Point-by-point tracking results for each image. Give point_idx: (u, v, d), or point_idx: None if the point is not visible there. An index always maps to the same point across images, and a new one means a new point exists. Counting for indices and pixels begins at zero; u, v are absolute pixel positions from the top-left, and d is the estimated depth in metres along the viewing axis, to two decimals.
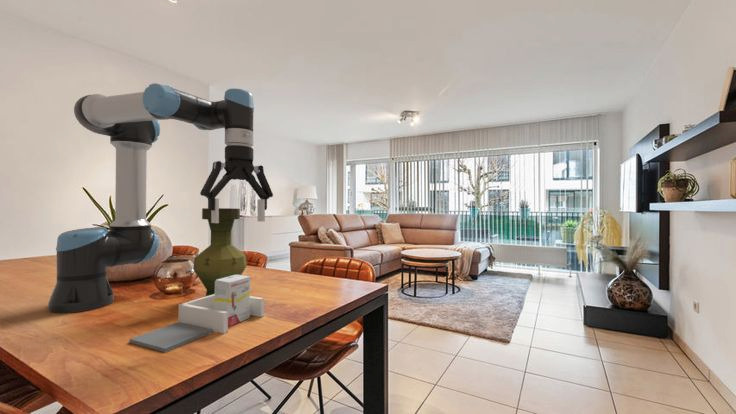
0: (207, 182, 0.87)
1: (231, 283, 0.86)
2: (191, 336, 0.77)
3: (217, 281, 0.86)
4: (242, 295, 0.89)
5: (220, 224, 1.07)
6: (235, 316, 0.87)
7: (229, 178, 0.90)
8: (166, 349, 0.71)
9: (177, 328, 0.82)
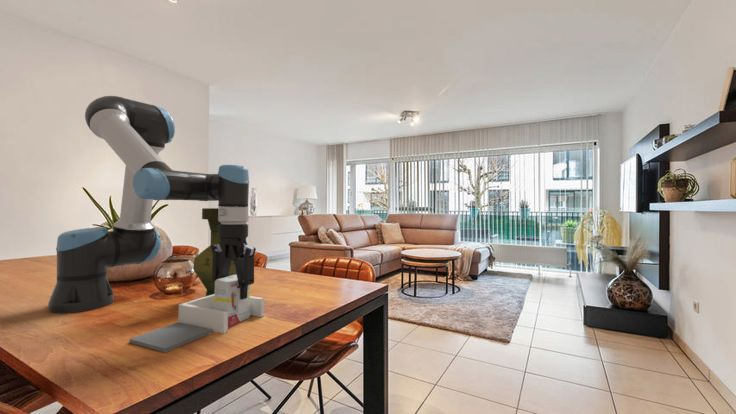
0: None
1: (231, 283, 0.86)
2: (191, 336, 0.77)
3: (217, 281, 0.86)
4: None
5: None
6: (235, 316, 0.87)
7: (222, 260, 0.89)
8: (166, 349, 0.71)
9: (177, 328, 0.82)
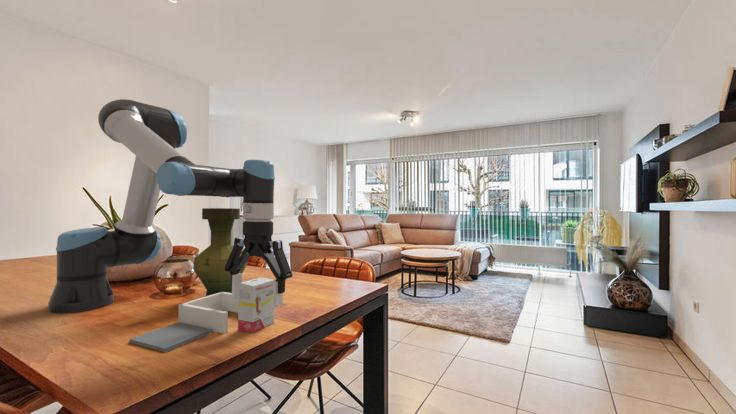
0: None
1: (255, 287, 0.83)
2: (191, 336, 0.77)
3: (241, 284, 0.83)
4: (266, 299, 0.86)
5: (220, 224, 1.07)
6: (260, 321, 0.84)
7: (242, 255, 0.86)
8: (166, 349, 0.71)
9: (177, 328, 0.82)
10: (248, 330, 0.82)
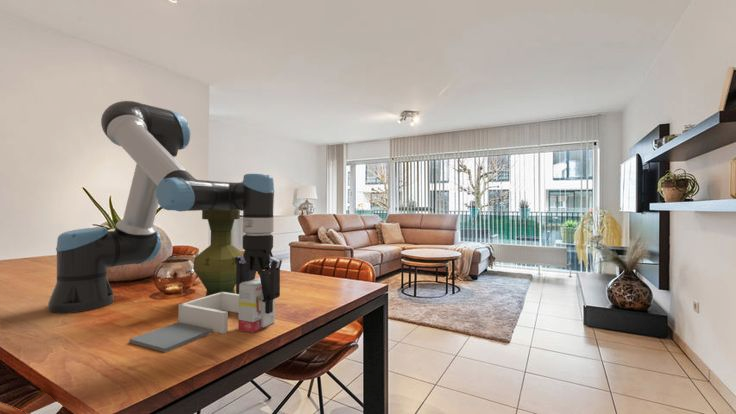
0: None
1: (256, 287, 0.82)
2: (191, 336, 0.77)
3: (242, 284, 0.83)
4: None
5: (220, 224, 1.07)
6: (260, 321, 0.84)
7: (247, 272, 0.86)
8: (166, 349, 0.71)
9: (177, 328, 0.82)
10: (248, 330, 0.82)
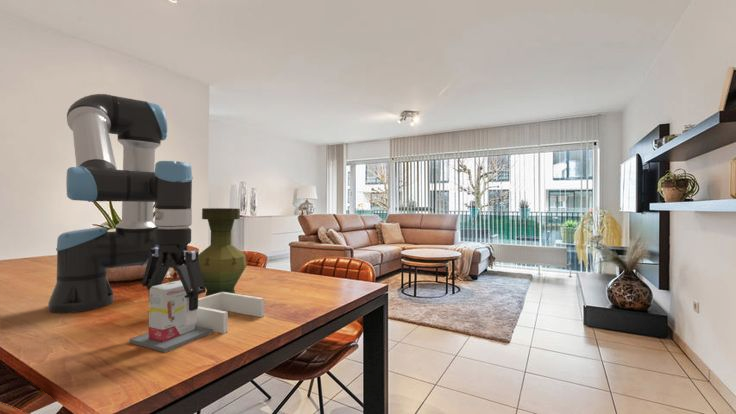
0: None
1: (167, 291, 0.75)
2: (191, 336, 0.77)
3: (152, 288, 0.75)
4: (183, 304, 0.78)
5: (220, 224, 1.07)
6: (173, 329, 0.76)
7: (157, 267, 0.78)
8: (166, 349, 0.71)
9: None
10: (158, 339, 0.74)
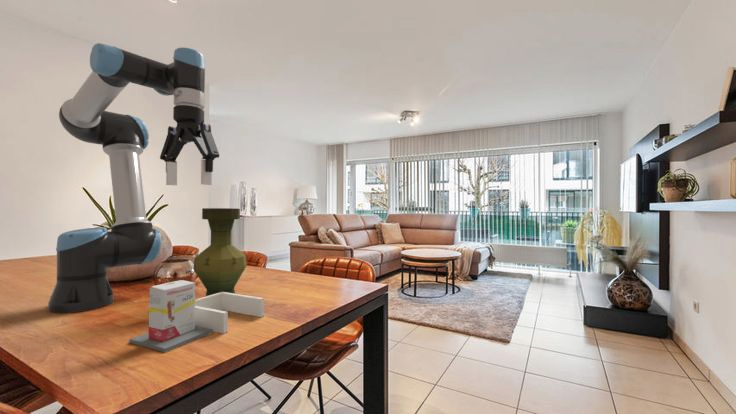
0: None
1: (167, 291, 0.75)
2: (191, 336, 0.77)
3: (152, 288, 0.75)
4: (183, 304, 0.78)
5: (220, 224, 1.07)
6: (173, 329, 0.76)
7: (175, 141, 0.92)
8: (166, 349, 0.71)
9: None
10: (158, 339, 0.74)
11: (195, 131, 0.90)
